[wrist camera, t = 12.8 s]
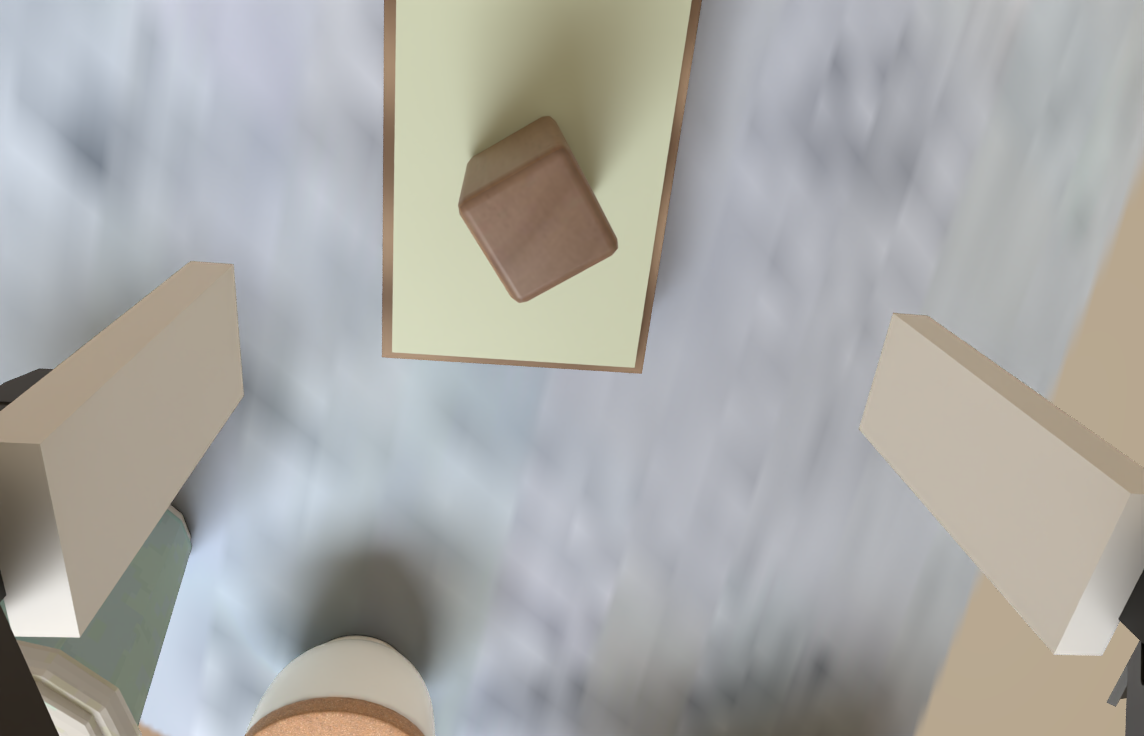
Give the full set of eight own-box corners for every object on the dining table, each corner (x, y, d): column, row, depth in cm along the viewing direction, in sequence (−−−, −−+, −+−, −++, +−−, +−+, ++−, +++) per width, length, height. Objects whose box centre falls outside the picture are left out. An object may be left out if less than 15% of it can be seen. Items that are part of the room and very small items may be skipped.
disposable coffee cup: (166, 426, 40) (-4, 637, 27) (271, 574, 45) (171, 820, 31) (-12, 494, 41) (-265, 733, 27) (109, 633, 45) (-57, 897, 32)
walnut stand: (627, 336, 40) (643, 378, 36) (394, 320, 39) (380, 361, 34) (685, -51, 33) (714, -61, 28) (399, -89, 31) (382, -106, 27)
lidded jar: (292, 741, 50) (250, 888, 42) (250, 617, 46) (193, 754, 37) (454, 720, 51) (445, 862, 42) (429, 595, 46) (413, 726, 38)
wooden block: (596, 198, 32) (624, 252, 25) (513, 244, 32) (517, 311, 25) (550, 110, 30) (565, 141, 23) (463, 160, 31) (451, 206, 24)
